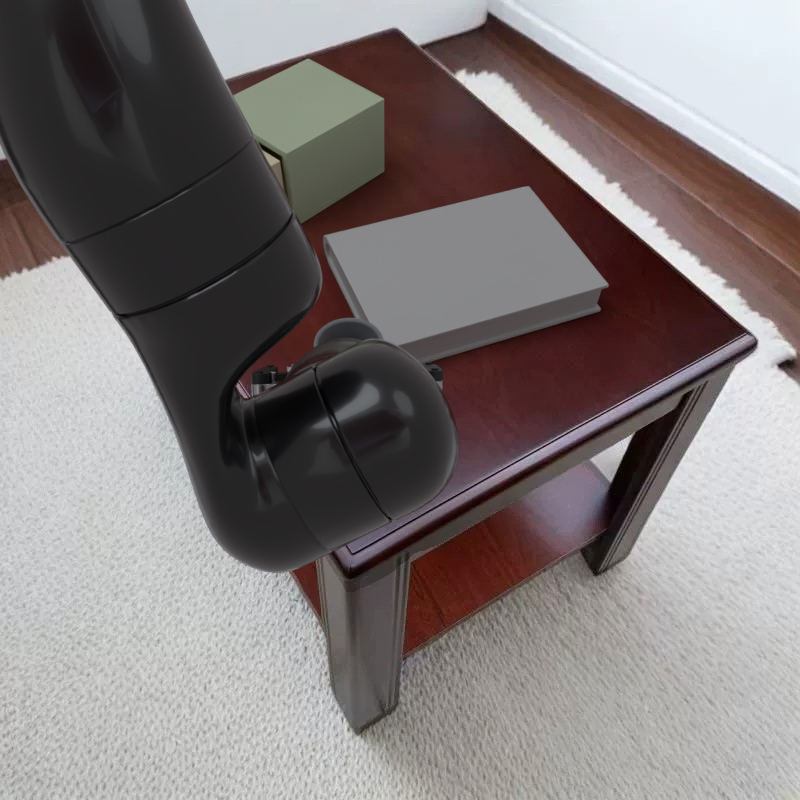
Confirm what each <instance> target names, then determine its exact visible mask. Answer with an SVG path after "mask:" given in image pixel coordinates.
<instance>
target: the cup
mask: <svg viewBox="0 0 800 800" xmlns="http://www.w3.org/2000/svg"><path fill="white" fill-rule="evenodd" d="M336 338H356V339H360V340H366V339H371V338H372V339H382V340H384V339H383V336H382V334H381V332H380V331H379V329H378V328H377V327H376V326H374V325H373V324H371V323H370V322H368V321H365V320H362V319H358V318H355V317H343V318H342V317H341V318H338V319H334V320H332V321H330V322H327V323H326V324H325V325H323V326H322V327H321V328H320V329H319V330H318V331H317V332H316V334H315V337H314V340H313V348H314V347H316V346H317V345H319V344H321V343H323V342H326V341H328V340H332V339H336Z"/></svg>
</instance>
